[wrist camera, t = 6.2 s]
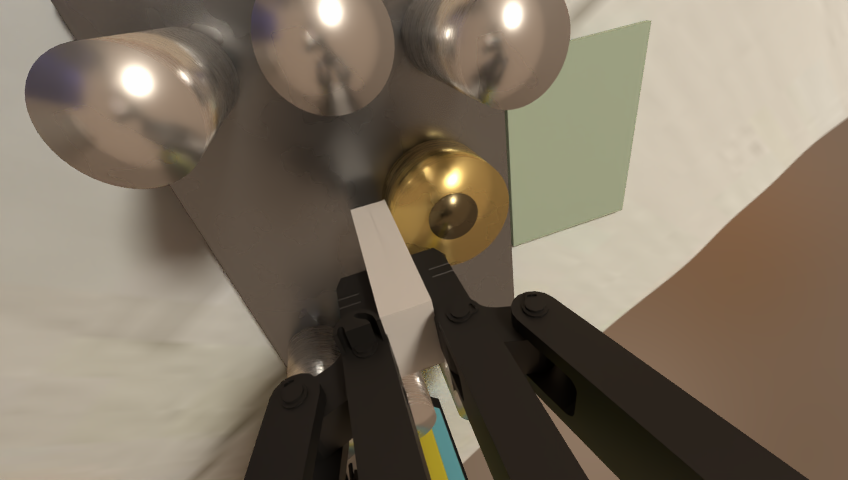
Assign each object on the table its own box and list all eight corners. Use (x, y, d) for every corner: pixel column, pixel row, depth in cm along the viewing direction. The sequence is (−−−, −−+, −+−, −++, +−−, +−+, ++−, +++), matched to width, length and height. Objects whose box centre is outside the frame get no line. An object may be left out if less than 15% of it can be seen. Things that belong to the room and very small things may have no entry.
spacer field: (54, -12, 11) (-180, -31, 6) (486, -96, 13) (622, -170, 7) (301, 381, 22) (302, 499, 17) (510, 305, 24) (571, 389, 19)
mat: (501, 57, 16) (505, 58, 15) (645, 20, 17) (651, 20, 16) (511, 243, 21) (514, 246, 21) (618, 207, 22) (622, 209, 22)
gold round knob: (367, 161, 16) (377, 184, 14) (478, 123, 16) (503, 139, 14) (399, 253, 19) (411, 283, 17) (491, 219, 19) (514, 243, 17)
